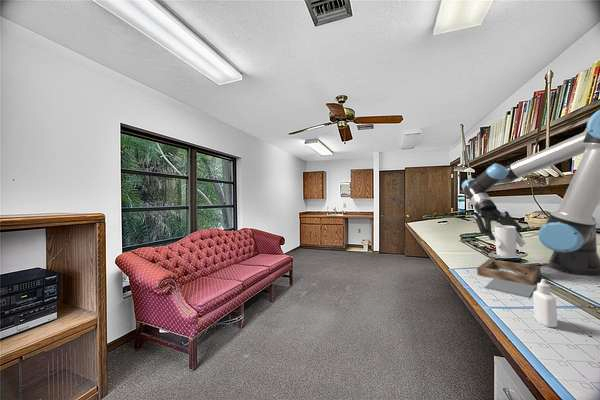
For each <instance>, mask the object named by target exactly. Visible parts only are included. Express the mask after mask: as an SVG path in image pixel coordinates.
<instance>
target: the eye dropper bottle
mask: <svg viewBox="0 0 600 400" xmlns="http://www.w3.org/2000/svg"><path fill="white" fill-rule="evenodd" d="M536 288H537V290H534V291H533V293H532V294H533V295H532V299H533V300H532V301H533V316H534V317H533V318H534V319H535V320H536V321H537V323H539V324H540V325H543V326H544V327H547V328H558V315H557V314H558V311H557V301H556V298H555V297H554V295H552V293H551V285H550V284H548V283H547V282H546V279H544V278H541V280H540V282H537V284H536Z"/></svg>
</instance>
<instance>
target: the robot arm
mask: <svg viewBox="0 0 600 400" xmlns="http://www.w3.org/2000/svg"><path fill="white" fill-rule="evenodd" d="M580 155H582V157H581V159H580V161H579V164H578V166H577V168H576V170H575V172H574V174H573V176H572V179H571V180H570V183H569V185H568V187H567V189H566V191H565V194H564V195H563V198H562V200H561V202H560V204H559V207H558V209H557V210H553V211H551V212H550V213H549V216H548V218H547V220H546V222H545V224H543V225H542V226H541V227H540V228H539V230H538V234H537V235H538V240H539V241H540V243H541V244H542V245H543V246H544V247H545V248H547V249H549V250H552V251H553V252H552V254H551V257H550V259H549V261H548V263H549V267H550V268H551V269H553V270H556V271H559V272H560V271H561V272H563V273H568V274H569V273H570V274H575V275H585V276H600V256H599V254H598V250H597V249H598V247H597V246H598V245H597V243H598V242H597V222H596V217H594V216H593V214H594V212H595V210H596V209H597V207H598V205H599V203H600V109H598V110H597V111H596V112H594V113H593V114H592V115H591V116H590V117H589V118H588V121H587V123H586V127H585V129H584V131H583V132H581V133H579V134H576V135H574V136H572V137H569V138H567V139H565V140H563V141H561V142H558V143H556V144H554V145H551V146H549V147H546V148H545V149H543V150H540V151H538V152H535V153H533V154H530V155H529V156H526V157H524V158H522V159H519V160H517V161H515V162H512V163H511V164H509V165H506V166H504V165H502V164H499V163H493V164H492V165H490V166H489V167H487V168H486V169H485V170H484V171H483V172H482V173H480V175H478V176H477V177H476V178H471V177H470V178H468V179H465V180H464V181H462V183H461V188H462V190H463V193H464V194H465V196H466V197H467V199H468V200H469V201H470V203H471V204H472V206H473V208H474V209H475V211H476V212H475V213H474V215H473V219H474V220H475V221H476V224H477V226H478V229H479V232H480V234H482V235H483V234H484V235H485V236H487V237H488V239H490V241H492V242H493V243H494V244H495V247H496V246H497V248H500V247H501V246H502V243H501V241H500V240H499V238H498V237H497V235H496V233H495V230H494V231H493V230H492V222H496V223H497V224H500V226H515V227H516V244H518V245H519V247H520V248H523V247H524V246H525V244H526V242H525V240H524V239H523V235H522V233H521V232H520V231H521V230H522V229H523V227H522V226H521V225H520V223H518V222H517V221H516V220H515V219H514V218H513V217H512V216H511V215H510V213H509V211H507V210H506V211H504V212H503V211H502V212H501V211H500V210H499V209H498V207H497V205H496V204H495V203H494V201H493V200H492V198H491V197H490V195H488V193H487V191H489V190H490V189H491V188H493V187H494V186H495V185H499V184H509V183H512V182H514V181H515V180H517V179H520V178H522V177H526V176H528V175H530V174H533V173H536V172H538V171H541V170H543V169H546V168H548V167H551V166H553V165H556V164H559V163H561V162H564V161H566V160H569V159H572V158H575V157H577V156H580Z"/></svg>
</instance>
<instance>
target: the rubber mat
mask: <svg viewBox="0 0 600 400" xmlns="http://www.w3.org/2000/svg"><path fill="white" fill-rule="evenodd" d="M484 288H485V289H488V290H494V291H497V292H501V293H505V294H511V295H515V296H520V297H524V298H528V299H530V298H531V296H532V294H533V292H534V291H536V288H537V285H528V284H522V283H517V282H512V281H507V280H502V279H497V278H492V280H491V281H490V282H488V283H487V284H486V285H485V286H484Z"/></svg>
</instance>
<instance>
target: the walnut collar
mask: <svg viewBox="0 0 600 400" xmlns="http://www.w3.org/2000/svg"><path fill="white" fill-rule="evenodd" d="M494 268H496V269H494ZM541 268H542V267H541V266H539V265H533V264H526V263H525V264H524V263H519V262H512V261H504V260H498V259H491V258H489V259H487V260H486V261H485V262H484V263H482V264H481V265H479V266H478V267H476V271H477V276H482V277H487V278H490V279H491V278H492V279H494V278H497V279H502V280H507V281H512V282H517V283H522V284H528V285H533V286H535V285H534V284H535V283H536V282H537V280H538V278H539V277H540V276H541V274H542V273H541V271H542V269H541ZM498 269H499V270H498ZM500 269H502V270H500ZM505 270H509V271H505ZM510 271H511V272H510ZM512 271H515V272H512ZM517 272H521V273H522V274H521V273H517ZM523 273H525V274H523Z"/></svg>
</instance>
